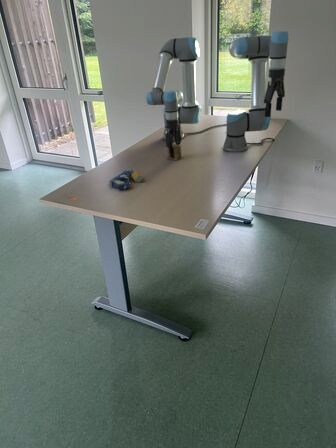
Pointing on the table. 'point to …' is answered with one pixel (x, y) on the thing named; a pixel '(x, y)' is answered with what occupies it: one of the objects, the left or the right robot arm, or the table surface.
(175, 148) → the block
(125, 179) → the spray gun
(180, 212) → the table surface
